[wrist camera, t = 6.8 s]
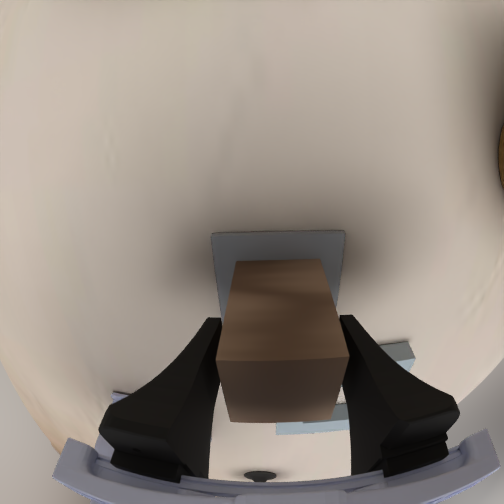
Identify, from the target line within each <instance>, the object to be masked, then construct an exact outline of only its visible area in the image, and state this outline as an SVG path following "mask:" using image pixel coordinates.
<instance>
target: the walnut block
mask: <svg viewBox="0 0 504 504" xmlns="http://www.w3.org/2000/svg"><path fill="white" fill-rule="evenodd" d="M348 360H349V353H348V349H347V345H346V342H345V338H344V335H343V331H342V328H341V324H340V321H339V317H338V314H337V311H336V307H335V304H334V301H333V297H332V294H331V291H330V288H329V285H328V282H327V278H326V275H325V272H324V269H323V266H322V263H321V260H320V259H293V260H256V261H236V264H235V269H234V274H233V278H232V283H231V288H230V293H229V297H228V302H227V307H226V312H225V317H224V321H223V326H222V331H221V336H220V341H219V346H218V351H217V356H216V364H217V369H218V373H219V377H220V381H221V386H222V390H223V394H224V398H225V402H226V406H227V410H228V414H229V418H230V422H243V423H285V422H306V421H319V420H330V419H331V417H332V414H333V411H334V408H335V405H336V401H337V398H338V395H339V392H340V388H341V385H342V382H343V378H344V375H345V371H346V367H347V364H348Z"/></svg>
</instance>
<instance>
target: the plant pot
mask: <svg viewBox="0 0 504 504" xmlns="http://www.w3.org/2000/svg"><path fill="white" fill-rule="evenodd" d="M498 159H499V172H500V177H501V182H502V186H503V188H504V125H503V128H502V131H501V135H500V142H499V157H498Z"/></svg>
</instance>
